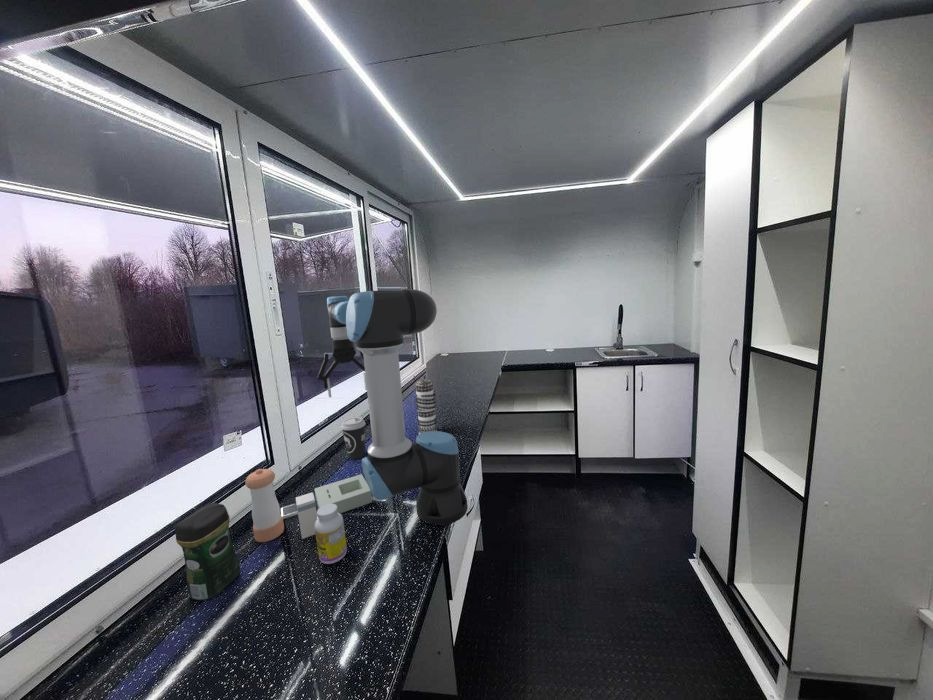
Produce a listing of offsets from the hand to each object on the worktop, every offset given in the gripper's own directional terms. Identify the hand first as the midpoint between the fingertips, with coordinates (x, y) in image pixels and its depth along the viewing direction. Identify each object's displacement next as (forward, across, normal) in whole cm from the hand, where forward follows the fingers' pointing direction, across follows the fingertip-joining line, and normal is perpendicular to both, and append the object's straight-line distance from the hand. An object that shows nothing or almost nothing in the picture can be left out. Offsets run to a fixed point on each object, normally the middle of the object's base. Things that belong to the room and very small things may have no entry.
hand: (348, 393), depth 134 cm
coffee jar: (+28, +40, +45) cm, 66 cm away
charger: (+28, +19, +36) cm, 50 cm away
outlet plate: (+27, +9, +27) cm, 39 cm away
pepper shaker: (+28, +29, +31) cm, 51 cm away
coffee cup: (+28, -1, -4) cm, 28 cm away
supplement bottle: (+28, +15, +50) cm, 59 cm away
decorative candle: (+28, -34, -9) cm, 44 cm away
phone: (+28, +22, +24) cm, 42 cm away
